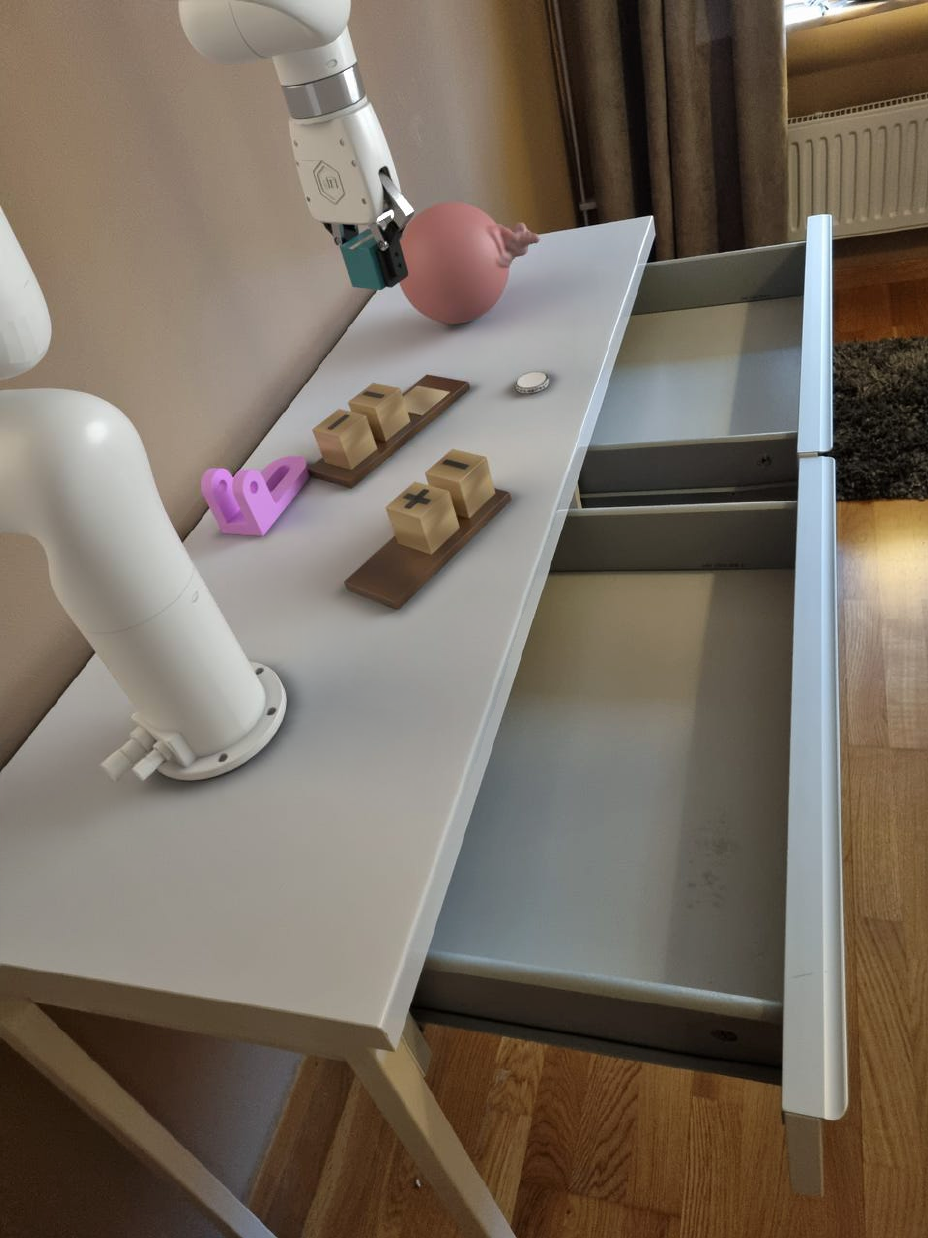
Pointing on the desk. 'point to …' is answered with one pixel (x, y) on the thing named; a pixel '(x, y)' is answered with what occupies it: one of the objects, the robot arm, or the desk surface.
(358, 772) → the desk surface
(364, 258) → the striped teal cube
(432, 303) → the balloon
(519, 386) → the white flat disc
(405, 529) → the wooden board with cubes
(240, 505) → the bracket
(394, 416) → the far word
